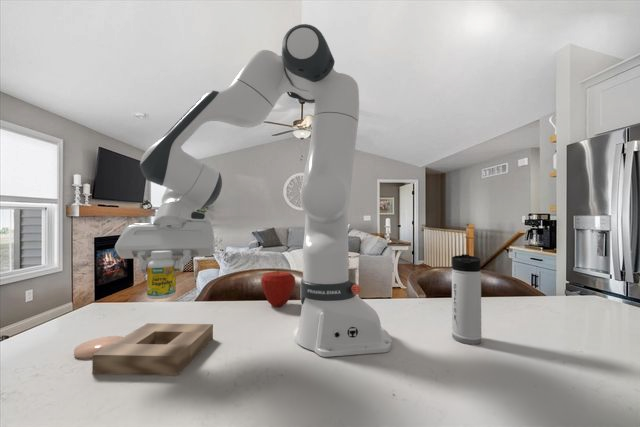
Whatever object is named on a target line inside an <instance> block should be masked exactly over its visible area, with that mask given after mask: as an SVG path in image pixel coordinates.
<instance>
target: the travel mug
mask: <svg viewBox="0 0 640 427" xmlns="http://www.w3.org/2000/svg"><path fill="white" fill-rule="evenodd" d="M481 267H482V266H481V257H477V256H473V255H470V254H467V253H466V254H465V253H464V254H463V253H461V255H454V256H452V257H451V325H452V328H451V329H452V330H451V331H452V333H451V335H452V339H454V340H455V341H457V342H459V343H462V344H464V345H472V344H474V345H479V344H481V343H482V278H481V277H482V274H481V273H482V270H481Z"/></svg>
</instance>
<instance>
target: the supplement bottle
mask: <svg viewBox="0 0 640 427" xmlns="http://www.w3.org/2000/svg"><path fill="white" fill-rule="evenodd" d="M172 256H173V251H171V250H161V251H152V252H151V258H150V259H151V260H150V261H148V262H149V263H148V265H147V273H146V275H147V276H146V289H147V290H146V296H147V298H148V299H150V300H162V299H168V298H172V297H174V296H175V295H176V290H177V289H176V288H177V287H176V286H177V285H176V284H177V281H176V280H177V272H175V270H174V265H175V261H176V260H173V259H172V258H173V257H172Z"/></svg>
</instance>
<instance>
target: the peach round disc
mask: <svg viewBox="0 0 640 427" xmlns="http://www.w3.org/2000/svg"><path fill="white" fill-rule="evenodd" d="M123 337H124V336H121V335H110V336H101V337H99V338H94V339H91V340H88V341H85V342H83V343H81V344H79V345H77V346H76V347H75V348H74V350H73V356H74V358H77V359H80V360H88V359H93V354H95V353H97V352H98V351H100V350H102V349H104V348H105V347H107V346H109V345H111V344H112V343H114V342H116V341H118V340H119V339H121V338H123Z"/></svg>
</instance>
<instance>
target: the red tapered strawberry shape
mask: <svg viewBox="0 0 640 427" xmlns="http://www.w3.org/2000/svg"><path fill="white" fill-rule="evenodd" d="M260 279H261V280H260V282H261V284H260V285H261V287H262V291H263V294H264V297H265V298H266V301H267V302H268V304H270V305H271V306H272V307H275V308H282V307H283V306H284V305H286V304H288V301H289V300H290V298H291V296H292V294H293V291H294V289H295V286H296V277H295V276H294V275H293V273H291V272H288V271H287V272H286V271H280V270H279V269H278V270H277V271H271V272H266V273H264V274H263V275H262V277H261V278H260Z"/></svg>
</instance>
